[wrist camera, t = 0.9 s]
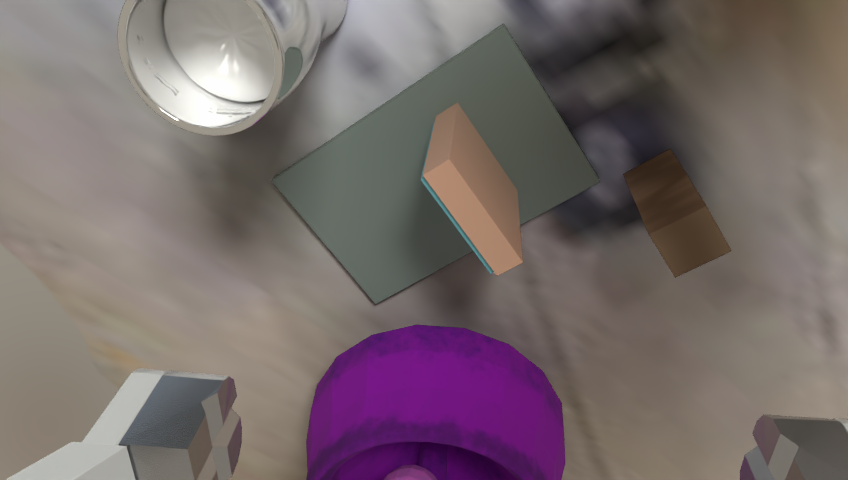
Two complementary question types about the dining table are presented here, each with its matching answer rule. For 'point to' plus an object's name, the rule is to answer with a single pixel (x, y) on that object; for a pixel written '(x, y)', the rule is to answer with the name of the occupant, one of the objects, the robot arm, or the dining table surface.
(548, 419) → the decorative plant
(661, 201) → the walnut block
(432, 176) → the tile
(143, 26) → the beer glass
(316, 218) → the mat
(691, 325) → the dining table surface
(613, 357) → the dining table surface
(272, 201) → the dining table surface
